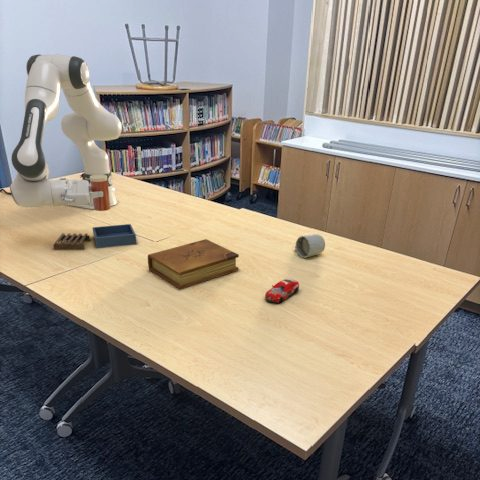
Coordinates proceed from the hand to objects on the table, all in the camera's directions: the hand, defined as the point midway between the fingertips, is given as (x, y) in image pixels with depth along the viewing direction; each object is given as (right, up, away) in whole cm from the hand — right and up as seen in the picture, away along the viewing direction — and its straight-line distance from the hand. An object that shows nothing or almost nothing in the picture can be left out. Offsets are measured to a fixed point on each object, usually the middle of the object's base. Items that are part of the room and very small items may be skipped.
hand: (102, 191), depth 170 cm
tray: (+2, -16, +10) cm, 19 cm away
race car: (+61, -39, -27) cm, 78 cm away
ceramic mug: (+73, -23, +2) cm, 76 cm away
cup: (-1, -6, +3) cm, 6 cm away
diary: (+34, -30, -12) cm, 46 cm away
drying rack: (-13, -18, +6) cm, 23 cm away
